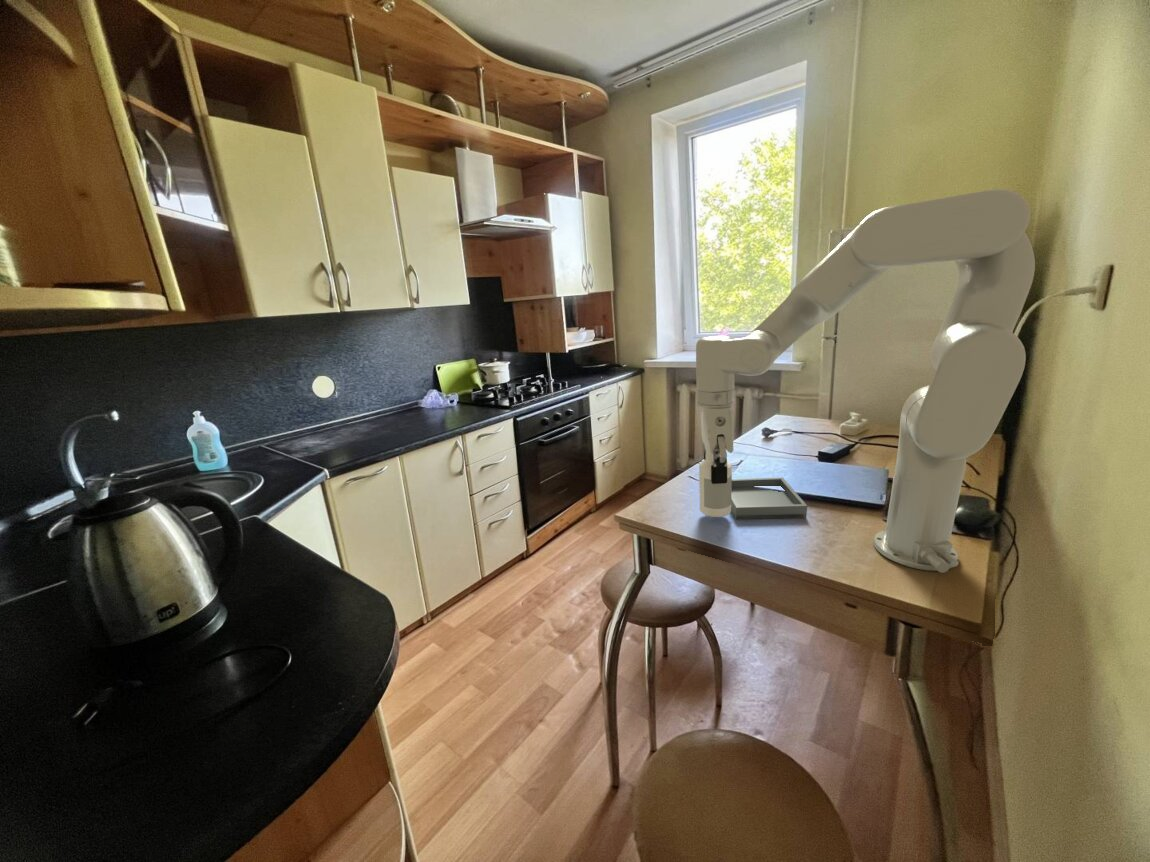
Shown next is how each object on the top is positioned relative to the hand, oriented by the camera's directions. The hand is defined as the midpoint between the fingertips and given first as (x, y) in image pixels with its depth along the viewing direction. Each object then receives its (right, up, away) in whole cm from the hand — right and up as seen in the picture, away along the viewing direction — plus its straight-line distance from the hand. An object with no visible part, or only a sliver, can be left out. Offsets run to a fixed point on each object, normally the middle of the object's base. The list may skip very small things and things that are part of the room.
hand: (715, 475), depth 98 cm
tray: (+13, -7, +8) cm, 17 cm away
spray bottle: (+1, -8, +3) cm, 9 cm away
